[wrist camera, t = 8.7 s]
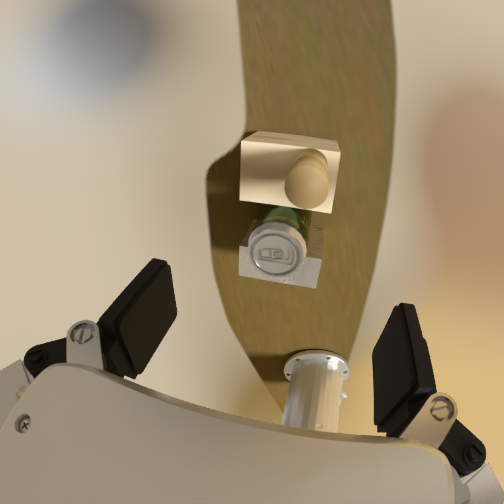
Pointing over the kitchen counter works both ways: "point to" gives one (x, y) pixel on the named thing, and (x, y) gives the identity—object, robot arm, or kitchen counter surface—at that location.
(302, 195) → the wooden block with peg
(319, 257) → the grey box
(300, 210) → the beer can
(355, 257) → the kitchen counter surface
